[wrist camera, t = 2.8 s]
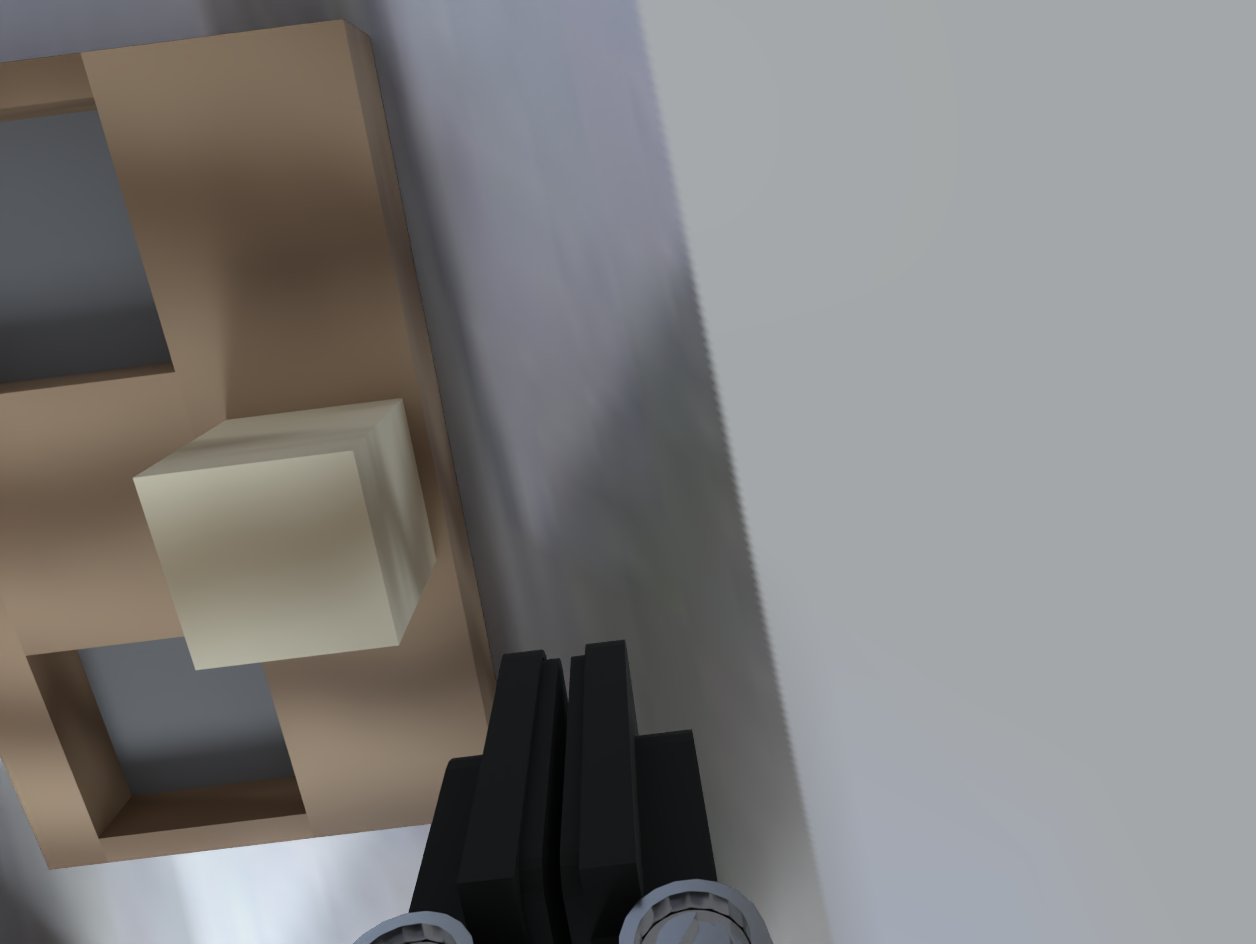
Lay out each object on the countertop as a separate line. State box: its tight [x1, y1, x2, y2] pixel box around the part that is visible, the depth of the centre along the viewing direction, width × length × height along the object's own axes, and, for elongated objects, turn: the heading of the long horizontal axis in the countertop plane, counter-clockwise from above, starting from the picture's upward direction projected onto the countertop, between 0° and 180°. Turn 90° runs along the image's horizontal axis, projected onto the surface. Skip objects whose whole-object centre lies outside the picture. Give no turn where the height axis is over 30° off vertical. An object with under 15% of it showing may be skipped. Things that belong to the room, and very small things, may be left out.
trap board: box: [0, 19, 497, 870], centre depth 25 cm, size 24×21×4 cm
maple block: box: [133, 398, 437, 670], centre depth 22 cm, size 5×5×5 cm
